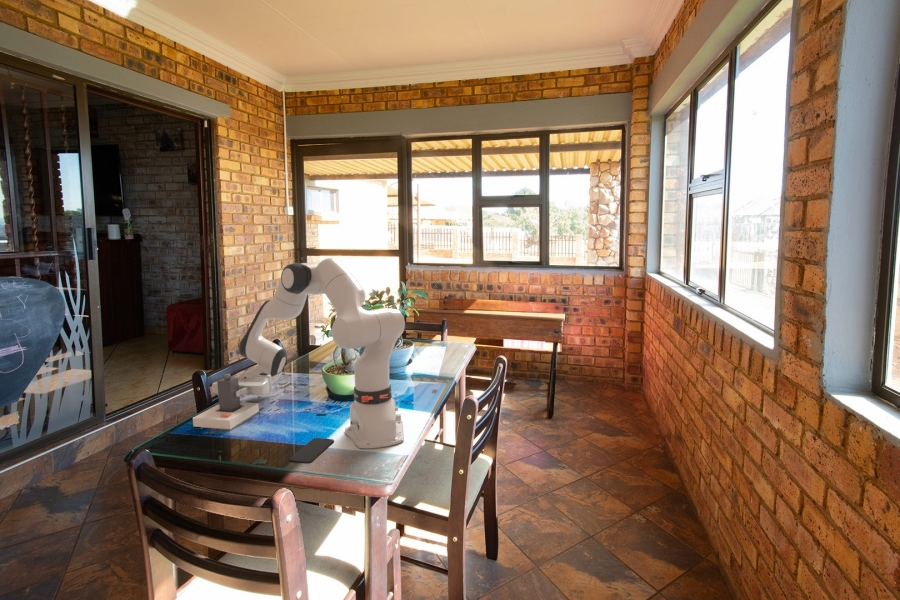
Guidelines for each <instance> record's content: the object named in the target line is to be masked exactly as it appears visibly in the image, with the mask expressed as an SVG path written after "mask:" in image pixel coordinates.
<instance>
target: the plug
mask: <svg viewBox="0 0 900 600" xmlns="http://www.w3.org/2000/svg"><path fill="white" fill-rule="evenodd" d="M223 376H224V377H223V378H221V379H219V380H217V385H218V395H217V396H218V404H219V407H220V412H232V413H233V412H235V411H236V410H238V409H240V408H241V407H240V402H241V398H240V396H241V395H240V396H239V397H235V396H234V391H236V390H239V384H238V378H239V377H231V374H230V373H225V374H224V375H223Z"/></svg>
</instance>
